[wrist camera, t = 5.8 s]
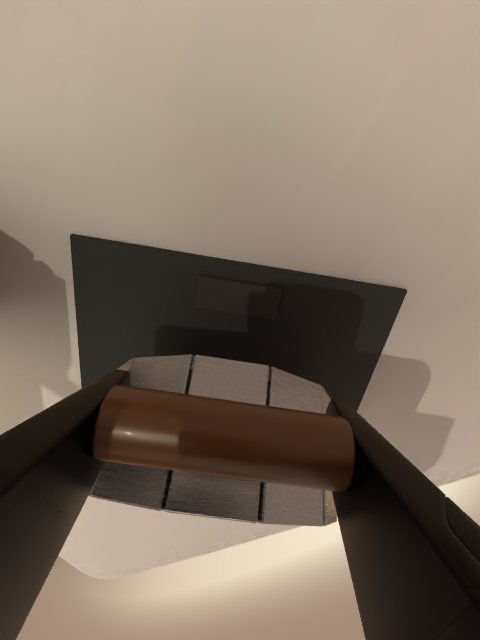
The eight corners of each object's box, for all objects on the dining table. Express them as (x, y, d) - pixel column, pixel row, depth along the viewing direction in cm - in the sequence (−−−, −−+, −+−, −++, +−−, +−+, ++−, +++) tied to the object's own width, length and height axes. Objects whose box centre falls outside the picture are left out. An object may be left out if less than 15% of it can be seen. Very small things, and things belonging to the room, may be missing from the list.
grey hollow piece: (139, 401, 21) (117, 483, 18) (39, 285, 8) (-75, 504, 6) (295, 423, 21) (293, 506, 19) (435, 347, 8) (482, 572, 6)
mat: (88, 454, 25) (78, 472, 23) (72, 233, 17) (55, 238, 16) (323, 485, 26) (328, 504, 24) (405, 288, 18) (419, 298, 17)
